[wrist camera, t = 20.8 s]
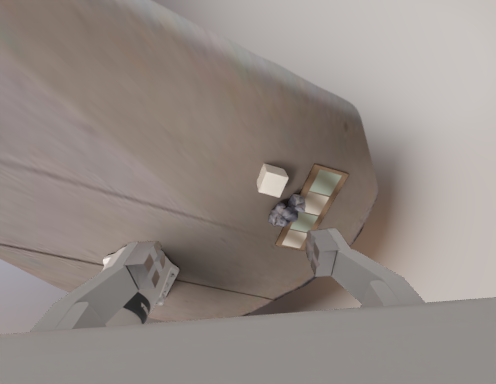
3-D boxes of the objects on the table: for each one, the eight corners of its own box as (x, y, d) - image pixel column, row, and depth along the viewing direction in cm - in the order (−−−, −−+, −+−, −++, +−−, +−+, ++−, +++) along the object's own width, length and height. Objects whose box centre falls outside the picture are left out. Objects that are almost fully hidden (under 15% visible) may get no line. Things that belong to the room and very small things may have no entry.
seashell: (300, 200, 37) (260, 221, 42) (314, 217, 39) (274, 236, 44) (298, 185, 42) (262, 206, 46) (311, 202, 43) (275, 220, 48)
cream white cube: (275, 187, 42) (279, 197, 38) (256, 181, 41) (258, 191, 38) (283, 169, 40) (288, 177, 36) (263, 162, 39) (266, 171, 35)
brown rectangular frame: (302, 249, 52) (303, 251, 51) (275, 243, 50) (275, 245, 50) (347, 173, 41) (349, 174, 41) (314, 163, 40) (315, 164, 39)
